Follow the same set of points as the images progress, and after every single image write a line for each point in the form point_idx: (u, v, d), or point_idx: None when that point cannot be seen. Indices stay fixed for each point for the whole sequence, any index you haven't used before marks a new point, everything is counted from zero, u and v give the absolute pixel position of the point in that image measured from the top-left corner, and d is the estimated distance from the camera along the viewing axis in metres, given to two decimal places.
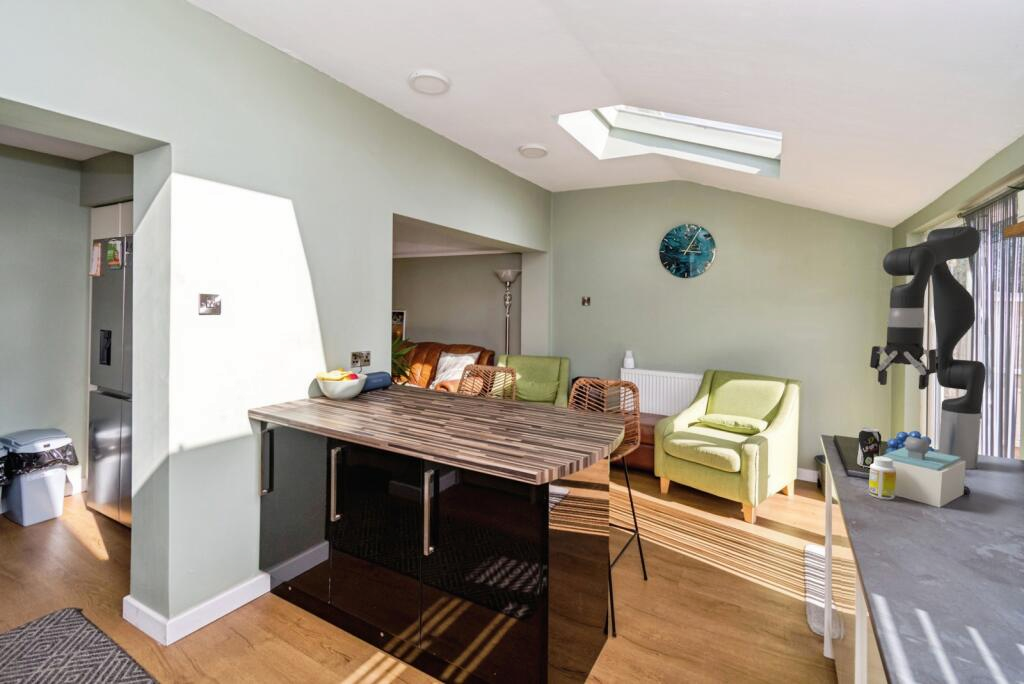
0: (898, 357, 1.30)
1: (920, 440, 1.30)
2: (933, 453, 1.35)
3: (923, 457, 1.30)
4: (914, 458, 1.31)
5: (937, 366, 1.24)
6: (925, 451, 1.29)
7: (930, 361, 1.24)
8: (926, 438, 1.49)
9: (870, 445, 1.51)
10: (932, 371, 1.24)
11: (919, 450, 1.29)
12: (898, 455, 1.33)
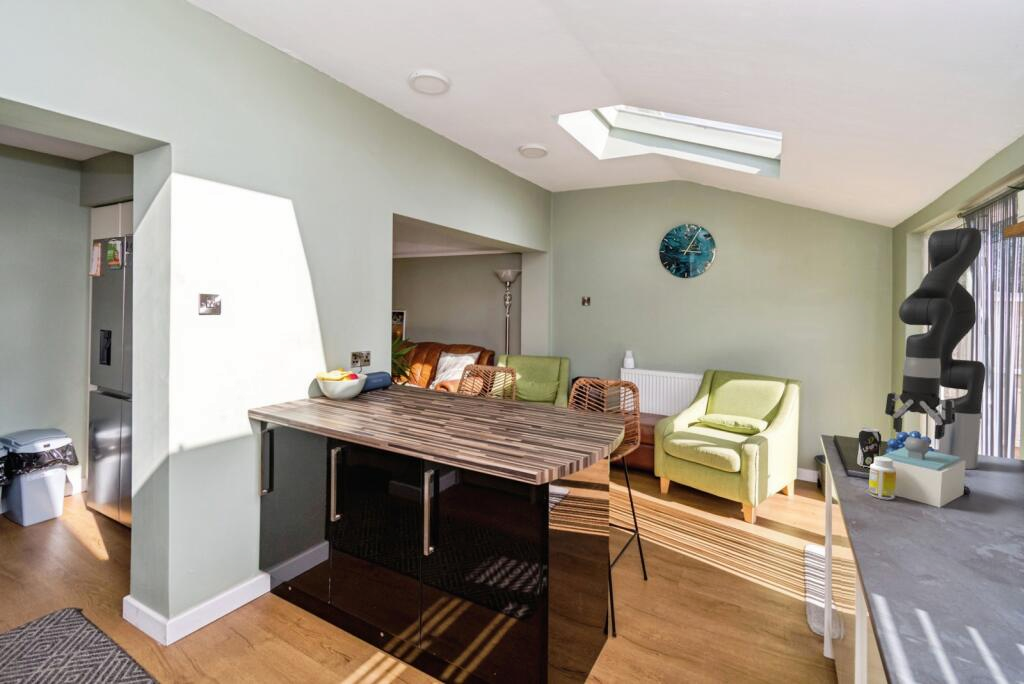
0: (914, 406, 1.30)
1: (920, 440, 1.30)
2: (933, 453, 1.35)
3: (923, 457, 1.30)
4: (914, 458, 1.31)
5: (953, 417, 1.25)
6: (925, 451, 1.29)
7: (946, 411, 1.24)
8: (926, 438, 1.49)
9: (870, 445, 1.51)
10: (948, 422, 1.24)
11: (919, 450, 1.29)
12: (898, 455, 1.33)
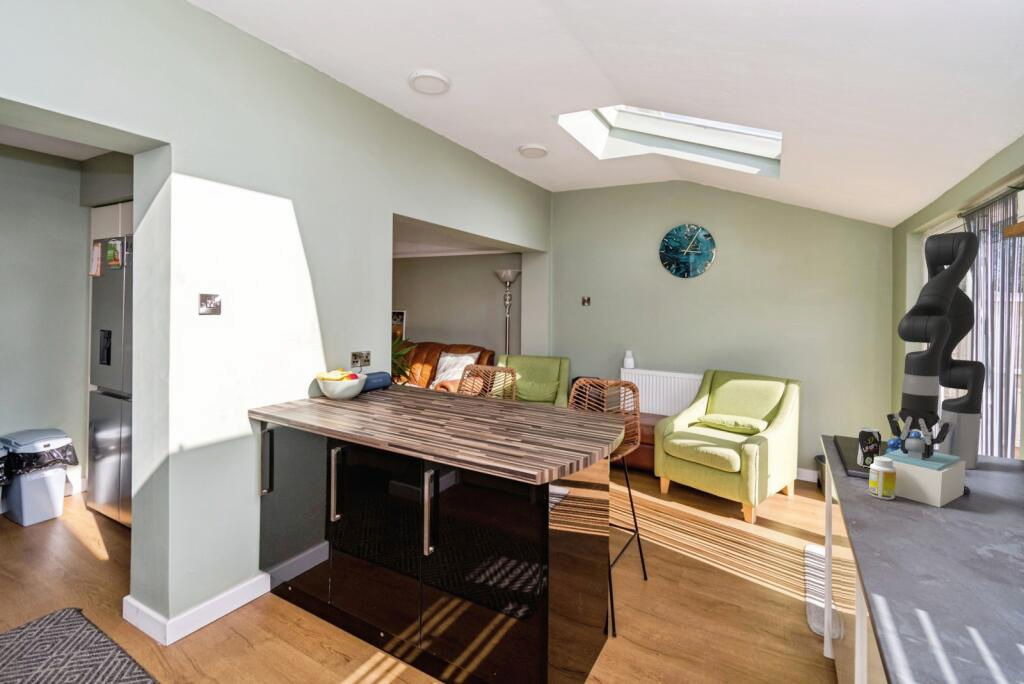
0: (915, 422, 1.30)
1: (920, 440, 1.30)
2: None
3: (923, 457, 1.30)
4: (914, 458, 1.31)
5: (944, 438, 1.27)
6: None
7: (939, 432, 1.26)
8: None
9: (870, 445, 1.51)
10: (937, 442, 1.26)
11: (919, 450, 1.29)
12: (898, 455, 1.33)
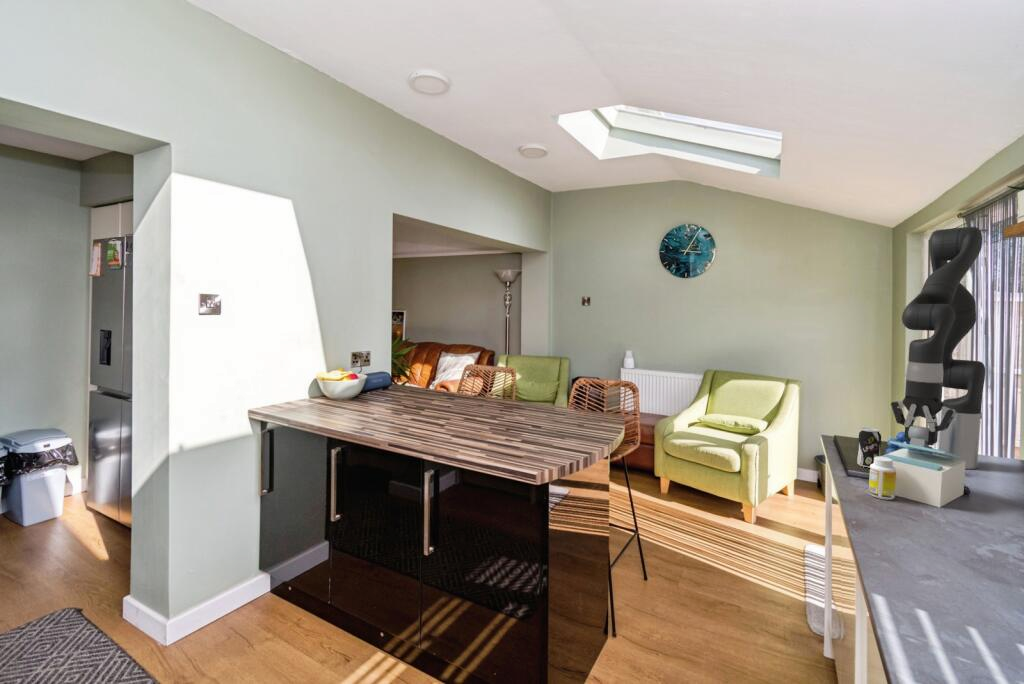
0: (919, 409, 1.31)
1: (924, 427, 1.31)
2: None
3: (925, 445, 1.30)
4: (916, 445, 1.31)
5: (948, 424, 1.28)
6: None
7: (943, 419, 1.27)
8: None
9: (870, 445, 1.51)
10: (941, 428, 1.27)
11: (922, 437, 1.30)
12: None
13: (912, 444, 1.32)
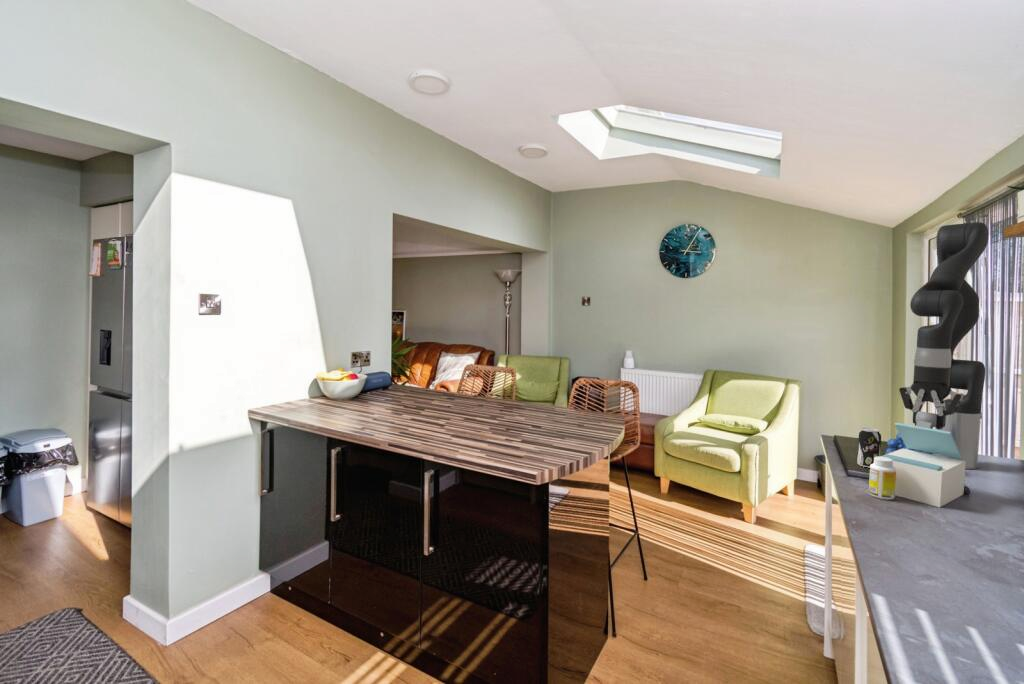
0: (927, 394, 1.33)
1: (932, 413, 1.33)
2: None
3: None
4: (922, 427, 1.32)
5: (955, 409, 1.30)
6: (934, 423, 1.31)
7: (951, 403, 1.29)
8: None
9: (870, 445, 1.51)
10: (949, 413, 1.29)
11: (929, 419, 1.32)
12: (906, 424, 1.35)
13: (918, 426, 1.33)
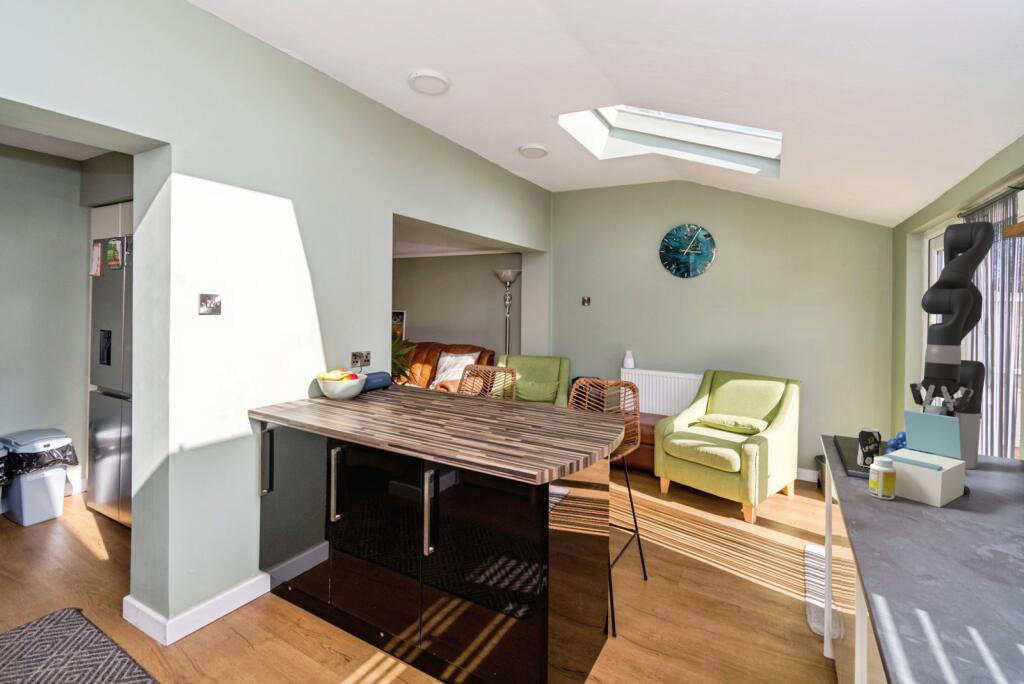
0: (937, 390, 1.37)
1: None
2: None
3: None
4: (930, 414, 1.35)
5: (965, 404, 1.33)
6: (943, 414, 1.34)
7: (962, 398, 1.32)
8: None
9: (870, 445, 1.51)
10: (959, 408, 1.33)
11: (939, 409, 1.35)
12: (915, 411, 1.37)
13: (926, 413, 1.35)
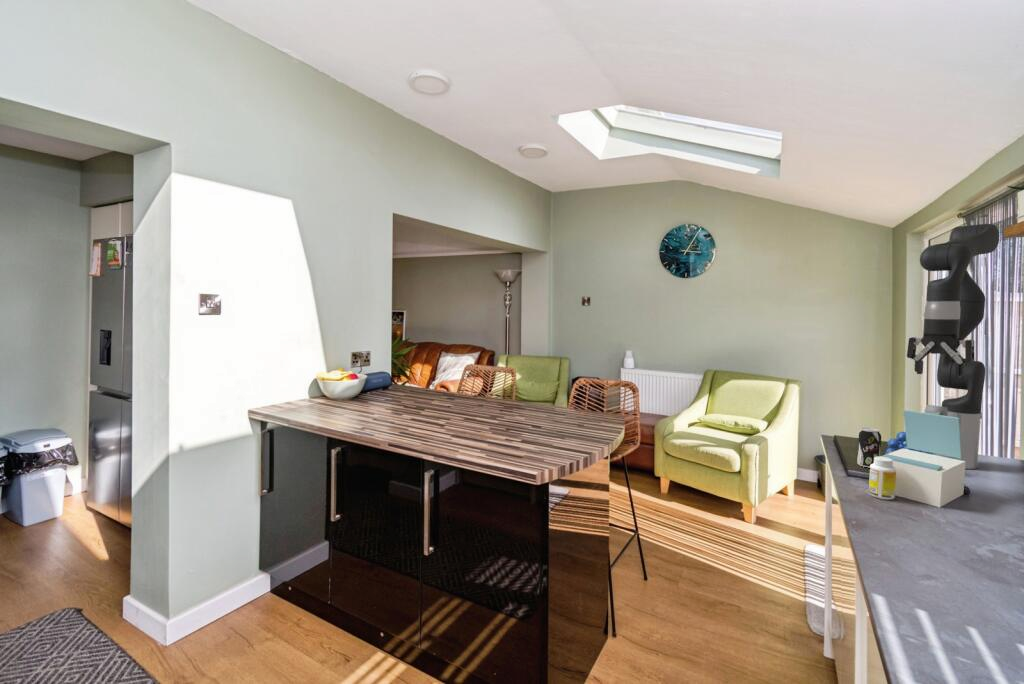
0: (935, 347, 1.38)
1: None
2: None
3: None
4: (930, 414, 1.35)
5: (973, 355, 1.32)
6: (943, 414, 1.34)
7: (966, 350, 1.32)
8: None
9: (870, 445, 1.51)
10: (968, 360, 1.31)
11: (939, 409, 1.35)
12: (915, 411, 1.37)
13: (926, 413, 1.35)
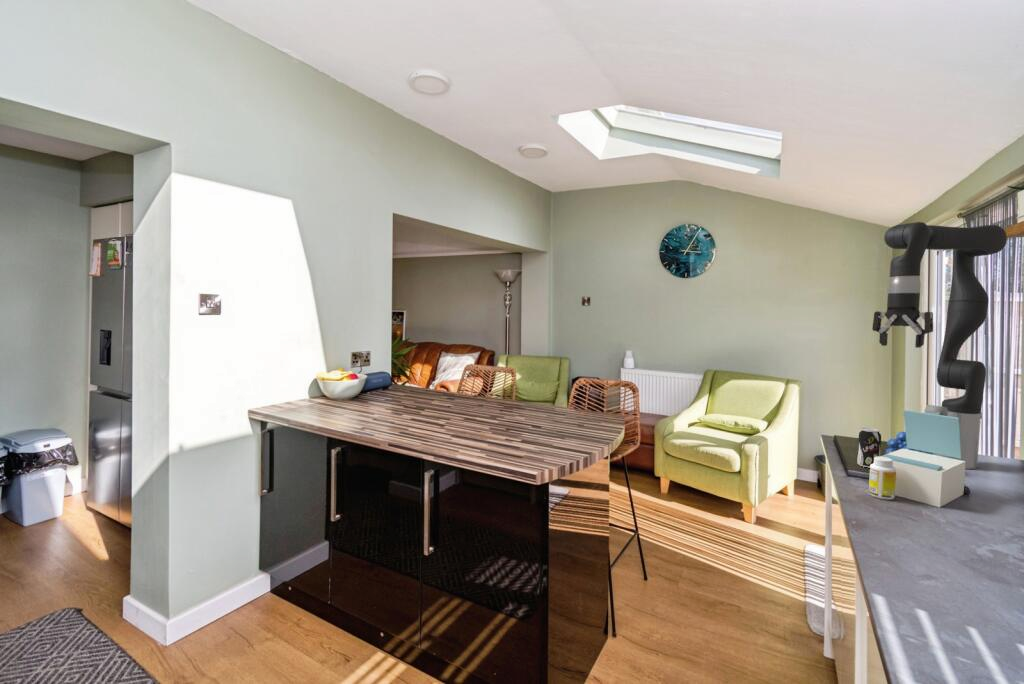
0: (897, 320, 1.47)
1: None
2: None
3: None
4: (930, 414, 1.35)
5: (931, 326, 1.41)
6: (943, 414, 1.34)
7: (925, 322, 1.41)
8: None
9: (870, 445, 1.51)
10: (927, 331, 1.41)
11: (939, 409, 1.35)
12: (915, 411, 1.37)
13: (926, 413, 1.35)
